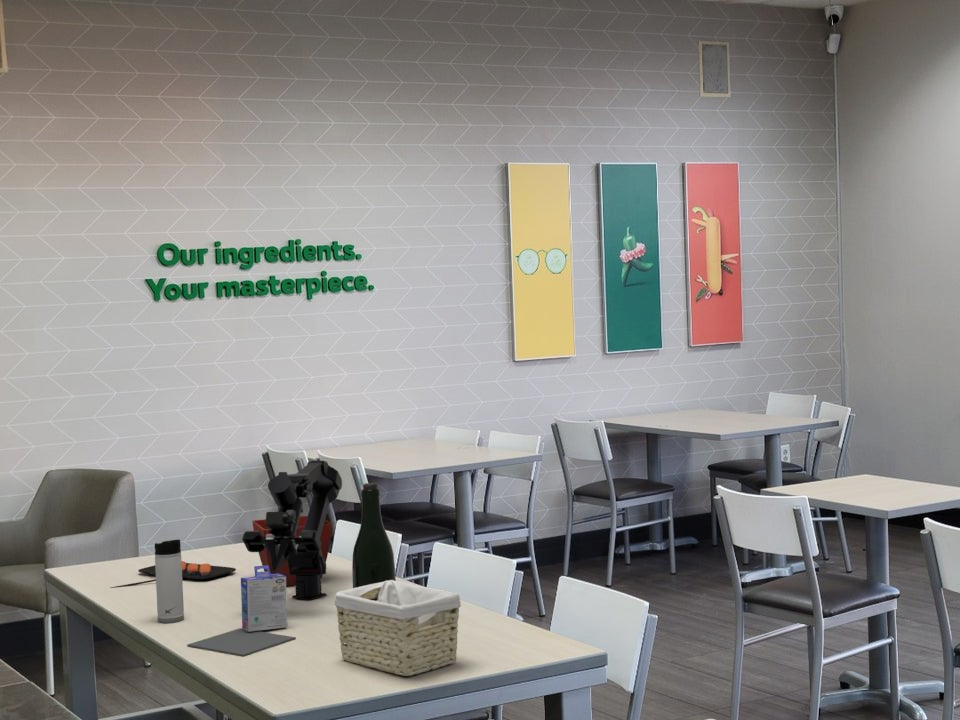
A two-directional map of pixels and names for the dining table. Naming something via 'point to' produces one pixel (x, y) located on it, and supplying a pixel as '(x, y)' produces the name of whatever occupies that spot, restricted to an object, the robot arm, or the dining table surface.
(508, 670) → the dining table surface
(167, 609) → the travel mug
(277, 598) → the ink cartridge box
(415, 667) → the storage basket
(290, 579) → the plant pot
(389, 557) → the green wine bottle
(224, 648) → the mat
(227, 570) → the sushi plate
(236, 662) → the dining table surface
